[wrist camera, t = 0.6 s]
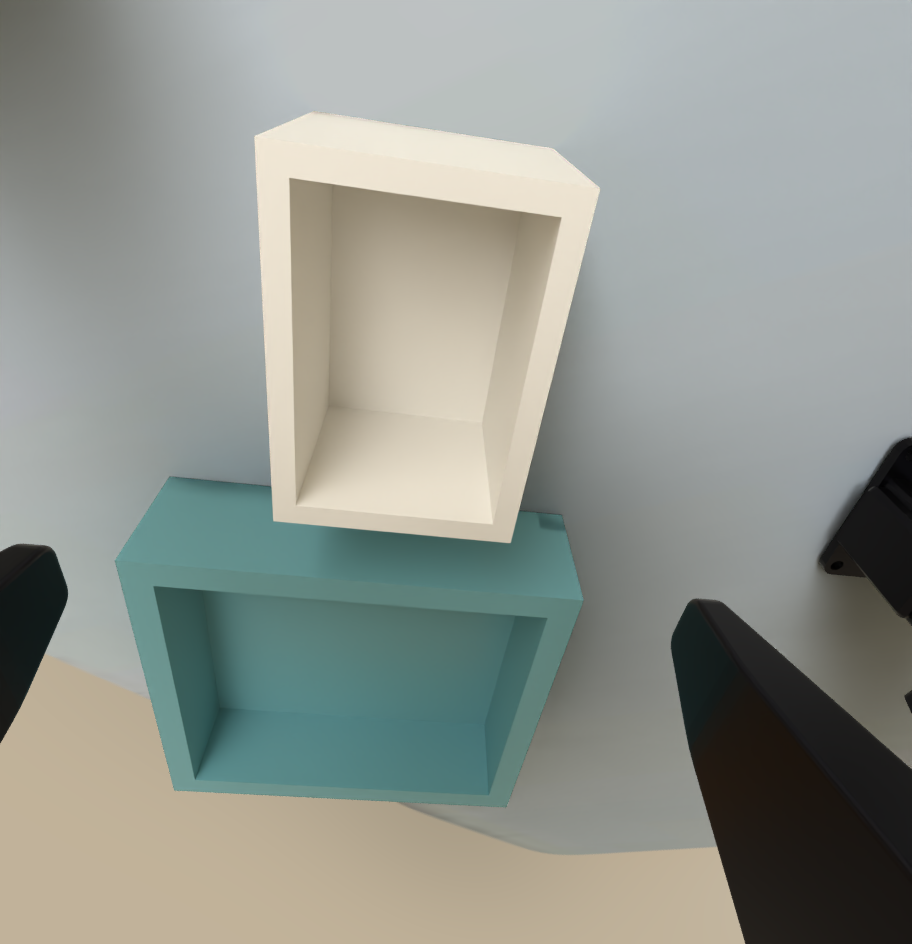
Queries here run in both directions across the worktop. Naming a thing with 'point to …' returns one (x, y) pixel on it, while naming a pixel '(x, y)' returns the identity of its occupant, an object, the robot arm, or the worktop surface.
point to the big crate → (343, 649)
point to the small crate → (411, 319)
